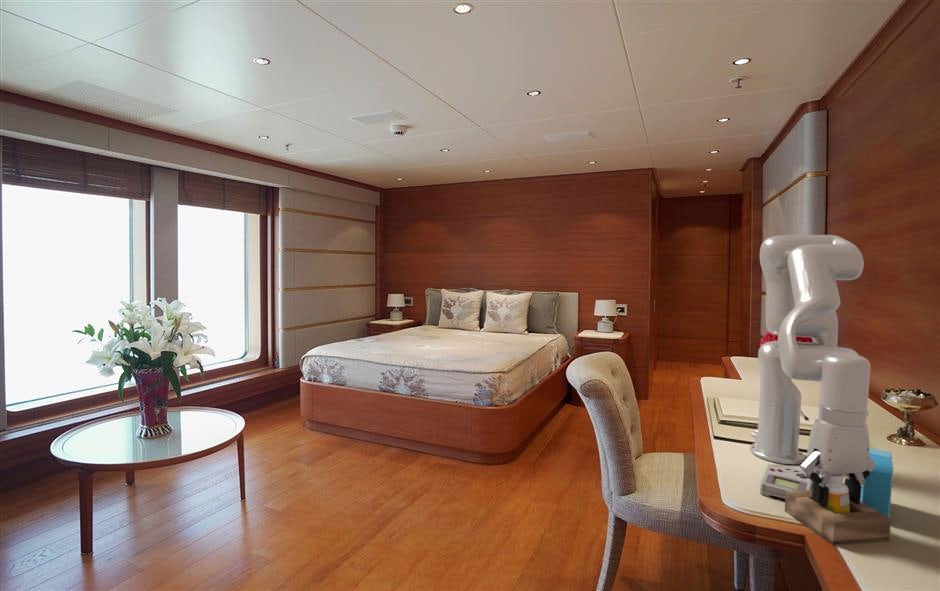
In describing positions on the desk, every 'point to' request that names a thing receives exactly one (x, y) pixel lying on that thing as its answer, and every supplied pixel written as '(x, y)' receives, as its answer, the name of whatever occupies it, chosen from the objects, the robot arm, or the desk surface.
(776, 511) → the desk surface
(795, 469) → the handheld gaming console
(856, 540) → the walnut pocket block
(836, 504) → the supplement bottle
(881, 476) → the data package
